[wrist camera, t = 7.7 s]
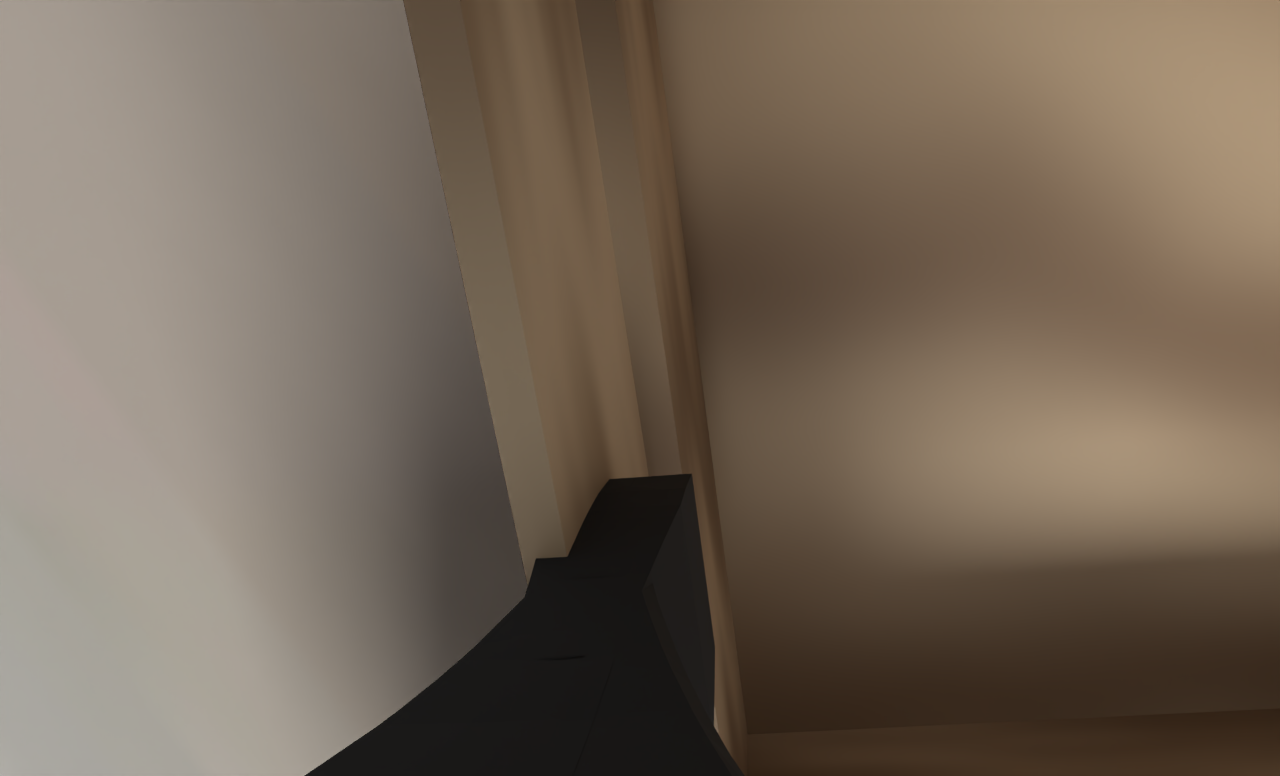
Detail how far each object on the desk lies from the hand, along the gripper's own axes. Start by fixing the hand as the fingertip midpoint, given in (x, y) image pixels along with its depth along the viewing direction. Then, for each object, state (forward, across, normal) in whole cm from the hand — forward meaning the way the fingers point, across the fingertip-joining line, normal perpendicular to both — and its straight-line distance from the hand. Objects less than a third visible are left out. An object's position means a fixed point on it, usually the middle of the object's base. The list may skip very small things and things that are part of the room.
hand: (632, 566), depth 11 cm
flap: (+2, 0, 0) cm, 2 cm away
